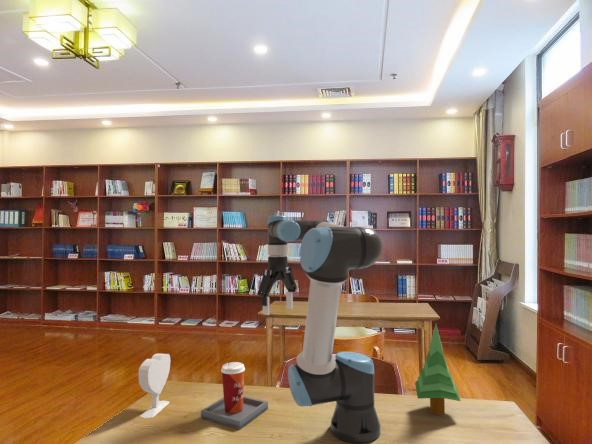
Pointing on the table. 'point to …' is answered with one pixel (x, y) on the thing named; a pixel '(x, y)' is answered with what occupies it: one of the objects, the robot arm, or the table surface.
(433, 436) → the table surface
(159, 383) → the heart sculpture
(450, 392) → the decorative tree
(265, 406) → the tray
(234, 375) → the coffee cup
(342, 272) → the robot arm
